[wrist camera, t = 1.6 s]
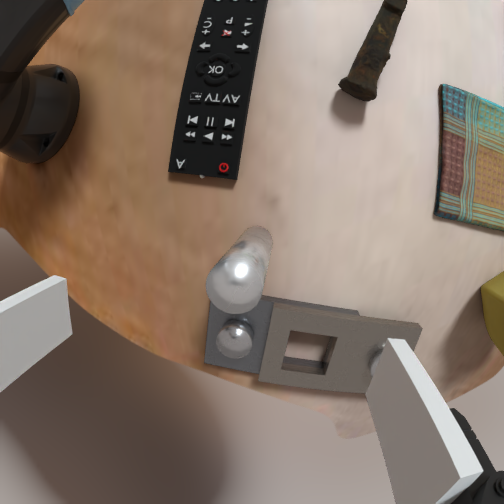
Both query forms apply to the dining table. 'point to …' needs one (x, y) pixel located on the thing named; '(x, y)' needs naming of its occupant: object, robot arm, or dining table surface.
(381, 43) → the hand tool
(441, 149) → the dish towel
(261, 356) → the lower chain end
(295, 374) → the grey block with knob
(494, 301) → the flower pot
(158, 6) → the dining table surface
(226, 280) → the steel pin
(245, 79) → the remote control
